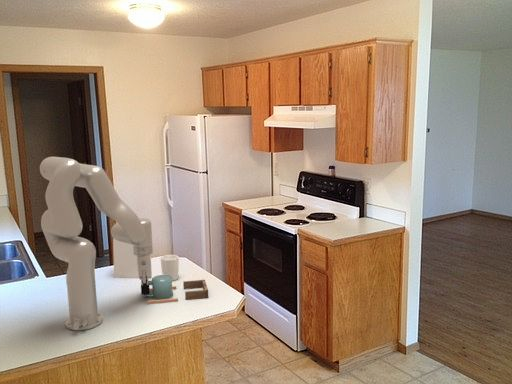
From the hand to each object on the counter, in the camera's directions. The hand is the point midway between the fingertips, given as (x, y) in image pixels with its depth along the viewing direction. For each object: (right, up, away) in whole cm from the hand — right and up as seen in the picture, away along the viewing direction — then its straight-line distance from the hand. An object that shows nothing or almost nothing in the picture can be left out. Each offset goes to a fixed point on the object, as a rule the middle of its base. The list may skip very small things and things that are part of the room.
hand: (145, 292), depth 189 cm
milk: (-14, +3, +28) cm, 31 cm away
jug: (+5, -2, +1) cm, 5 cm away
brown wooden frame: (+20, -1, +5) cm, 20 cm away
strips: (+7, -2, +2) cm, 7 cm away
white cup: (+6, +2, +21) cm, 22 cm away
